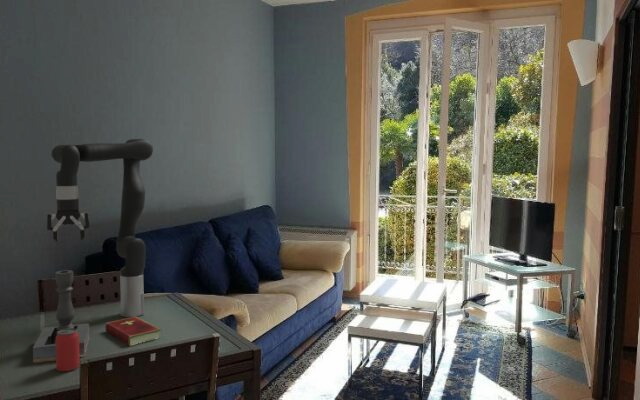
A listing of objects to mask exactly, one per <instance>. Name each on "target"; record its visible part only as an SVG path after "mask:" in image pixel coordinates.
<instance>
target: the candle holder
mask: <svg viewBox="0 0 640 400" xmlns="http://www.w3.org/2000/svg"><path fill="white" fill-rule="evenodd" d="M54 278H55V282H56V285H57V287H58V288H56V292H57V293H58V304H57V308H56V313H55V319H56V321H57V322H58V325H57V326H58V327H57V332H58V331H60V330H62V329H68V328H74V325H75V324H73V323H72V322H73V320H74V319H75V316H76V313H75V309H74V306H73V301H72V295H71V294H72V291H73V289H74V288H73V287H72V284H73V281H74V270H71V269H70V270H69V269H68V270H67V269H64V270H59V271H55V276H54ZM57 332H56V336H57Z"/></svg>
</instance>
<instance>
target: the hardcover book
mask: <svg viewBox="0 0 640 400" xmlns="http://www.w3.org/2000/svg"><path fill="white" fill-rule="evenodd" d="M160 331H161V328H159V327H158V326H155V325H153V324H152V323H149V322H147V321H145V320H144V319H141V318H139V316H136V317H125V318H123V319H122V318H121V319H117V320H114V321H109V322H108V321H107V322H106V323H105V332H106V333H107V334H109V335H111V336H112V337H114V338H116V339H117V340H119V341H120V342H121V343H123V342H124V343H123V344H125V345H127V346H129V347H131V346H134V345H138V343H139V344H143V343H146V341H147V342H151V341H154V339H155V340H158V338H159V339H160ZM142 342H143V343H142Z"/></svg>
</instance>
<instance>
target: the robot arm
mask: <svg viewBox="0 0 640 400" xmlns="http://www.w3.org/2000/svg"><path fill="white" fill-rule="evenodd" d="M153 152H154V149H153V144H152V143H151V142H150V141H148V140H147V139H144V138H132V139H131V138H130V139H127V140H126V142H123V143H115V142H114V143H109V142H107V143H105V142H103V143H102V142H100V143H98V142H97V143H95V142H93V143H83V144H82V143H81V144H59V145H56V146H54V148H53V149H52V150H51V158H52V159H53V161H55V162H56V163H59V164H60V169H59V170H58V171H56V177H55V181H56V183H55V184H56V189H55V191H56V192H55V198H56V213H48V214H47V218H46V219H47V220H46V221H47V222H46V223H47V225H46V226H47V227H46V229H47V231H51V232H52V234H53V235H52V236H53V238H52V239H53V241H55V242H58V241H59V231H58V229H59V227H60V226H61V225H63V226H67V225H76V226H77V227H78V228H79V229H80V232H79V233H80V234H79V235H80V240H81V241H82V240H84V239H85V237H86V232H85V231H86V229H89V228H90V215H89V212H88V211H85V212H80V202H79V201H80V196H79V188H78V175H77V174H78V171H79V168H80V167H79V166H80V162H83V163H85V162H86V163H88V162H89V163H90V162H102V161H111V160H117V159H118V160H121V159H123V160H122V162H123V165H122V166H123V177H122V191H121V203H120V204H121V206H120V207H121V210H120V220H119V230H118V235H117V239H116V247H115V248H116V253H117V255H118V256H119V257H121V258H122V259H125V265H124V266H123V267H121V268H120V271H119V273H120V274H119V277H120V278H119V279H120V282H119V283H120V316H121V317H124V318H131V317H139V316H145V299H144V297H145V293H144V291H145V290H144V270H145V268H146V259H147V258H146V255H147V249H146V247H147V246H146V244H145V242H144V240H143V239H142V238H139V237H138V238H137V237H136V228H137V223H138V221H139V220H140V217H141V215H142V213H143V211H144V208H145V198H146V190H145V186H144V184H143V181H142V177H141V175H140V165H141V163H140V162H141V161H146V160H148V159H150V158H151V157H152V155H153ZM81 217H82V219H84V223H85V225H83V224H82V222H81V221H80V220H79V219H80V218H81ZM55 218H56V219H57V220H58V221H57V223H56V224H55V226H53V222H52V221H54V219H55Z"/></svg>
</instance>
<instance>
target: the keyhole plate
mask: <svg viewBox="0 0 640 400" xmlns="http://www.w3.org/2000/svg"><path fill="white" fill-rule="evenodd" d="M73 325H74V329H77V333H78V335H79V359H81V358H85V356H86V353H87V347H88V345H89V340H90V323H88V322H87V323H79V324H78V323H77V324H73ZM58 326H59V325H56V326H47V327H45V326H44V327H43V328H42V331H41V333H39V336H38V337H37V340H36V341H35V343H34V345H33V346H32V361H33V362H32V363H45V362H53V361H56V332H57V327H58ZM80 357H81V358H80Z"/></svg>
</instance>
